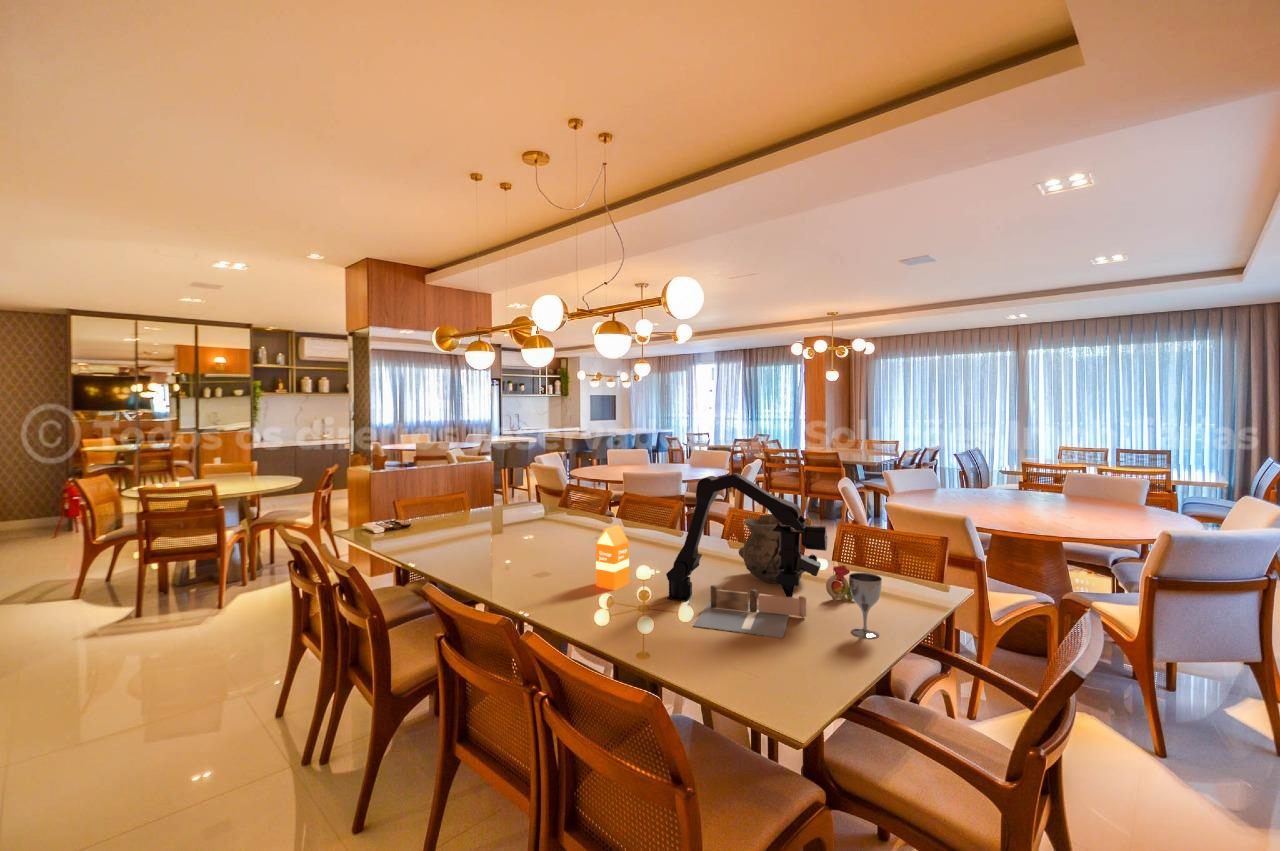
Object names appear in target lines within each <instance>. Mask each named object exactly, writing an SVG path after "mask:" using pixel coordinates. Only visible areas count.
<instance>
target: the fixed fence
mask: <svg viewBox="0 0 1280 851" xmlns="http://www.w3.org/2000/svg"><path fill="white" fill-rule="evenodd" d="M710 600H711V608H723V609H732V610H740V611H748V604H750V612H757V605H758V590H757V589H754V588H753V589H749V592H746V591H739V590H738V591H736V590H728V589H727V590H726V589H718V586H717V585H711V586H710Z"/></svg>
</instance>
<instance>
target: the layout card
mask: <svg viewBox="0 0 1280 851" xmlns="http://www.w3.org/2000/svg"><path fill="white" fill-rule="evenodd" d="M789 617H790V615H786V614H777V613H768V612H760V611H759V604H757V612H750V603H748V611H740V610H732V609H723V608H711V599H710V600H709V602H707V604H706V606H705V607H704V609H703V610H702V612H701V613H700V614H699V616H698V618H697V619H696V621H695V622H694V623H693V625H692V627H693V626H695V627H694V628H699V627H701V629H707V628H709V629H708V630H715V629H718V630H717V631H723V630H724V631H725V632H730V631H732V632H731V633H738V632H739V634H746V633H747V634H746V635H748V634H749V635H754V634H756V636H762V635H763V636H764V637H770V638H777V637H778V638H779V639H784V638H785V637H784V636H785V632H786V629H787V625H788V621H789ZM763 636H762V637H763Z"/></svg>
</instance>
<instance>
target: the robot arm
mask: <svg viewBox="0 0 1280 851" xmlns="http://www.w3.org/2000/svg"><path fill="white" fill-rule="evenodd" d="M732 488H733V489H735V490H737V491H739V492H740V493H742V494H743V495H744V496H746V497H748V498H750V499H751V500H753V501H754V502H756V503H757V504H759V505H761V506H762V507H763V508H766V509H767V510H768V511H769V513H771V514H770V515H773V516H774V517H775V518H776V519H777V520H779V521H780V522H781V523H782V524H783V525H782V524H781V523H780V522H779V523H778V524H777V526H776V527H774V528H773V529H772V530H773V531H774V532H780V550H779V556H780V564H779V570H783V571H779V572H778V573H777V575H776V583H775V584H776V585H780V586H781V588H782V590H783V593H784V596H787V597H794V592H795V587H798V586H799V585H800V581H801V578H802V574H798V572H800V571H802V570H803V571H805V572H806V573H807V574H810V575H811V576H813V577H817V576H818V574H819V570H820V568H821V565H822V564H821V562H820V561H818V557H817V555H816V554H813V553H811V554H809V556H808V555H806V556H805V555H803V554H802V550H801V546H802V547H803V548H805V550H814V551H825V552H826V551H828V541H829V540H828V539H829V538H828V534H827V526H826V525H809V523H808V522H807V520H806V519H805V518H804V517H803V515H802V511H801V508H800V507H799V505H798V504H796V503H794V502H792V501H789V500H787V499H783V498H780V497H777V496H775V495H773V494H771V493H770V492H768V491H767V490H766V489H764V488H762V487H760V486H759V485H757V484H756V483H754V482H752V481H750V480H749V479H748V478H746V477H744V476H743V475H742V474H741V473H738V472H734V473H732V474H728V475H727V474H726V475H723V476H718V477H717V476H714V475H708V476H705V477H703V478H701V479H699V480H698V481H697V484H696V492H695V500H696V501H695V502H696V504H695V508H694V511H693V514H692V518H691V521H690V524H689V528H688V531H687V535H686V537H685V542H684V544H683V547H682V548H681V550H680V552H679V553H678V554H677V556H676V558H675V560H674V562H673V564H672V565H673V566H672V567H671V569H669V571H668V572H666V573H665V574H666V578H667V581H668V596H667V598H666V599H667V600H676V601H685V602H688V600H690V599H691V597H692V596H693V582H692V581H691V575H692V572H693V571H694V570H696V569H697V568H698V567H699V566H700V561H701V558H702V556H703V554H702V553H699V545H700V543H701V542H700V541H701V539H702V534H703V532H704V529H705V524H706V521H707V517H708V515H709V511H710V508H711V506H712V504H713V503H714V501H715V500H716V498H717V496H718V495H719V493H720V491H722V490H728V489H732ZM805 572H804V573H805Z"/></svg>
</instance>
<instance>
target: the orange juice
mask: <svg viewBox="0 0 1280 851" xmlns="http://www.w3.org/2000/svg"><path fill="white" fill-rule="evenodd" d="M595 571H596V572H595V577H596V578H595V579H596V580H595V581H596V584H595V586H596V587H597V586H599V587H598V588H602V587H603V588H602V589H608V590H613V591H616V590H618V589H621V588H622V587H624V586H626V585H628V584H630V542H629V540H628V538H627V536H626V534H625V532H624V530H623V529H622V526H621V525H620V524H616V525H615V524H614V525H611V526H609V527H605V528H604V530H603V532H602V533H601V534H600V536H599V538H598V539H597V541H596V543H595Z"/></svg>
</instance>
